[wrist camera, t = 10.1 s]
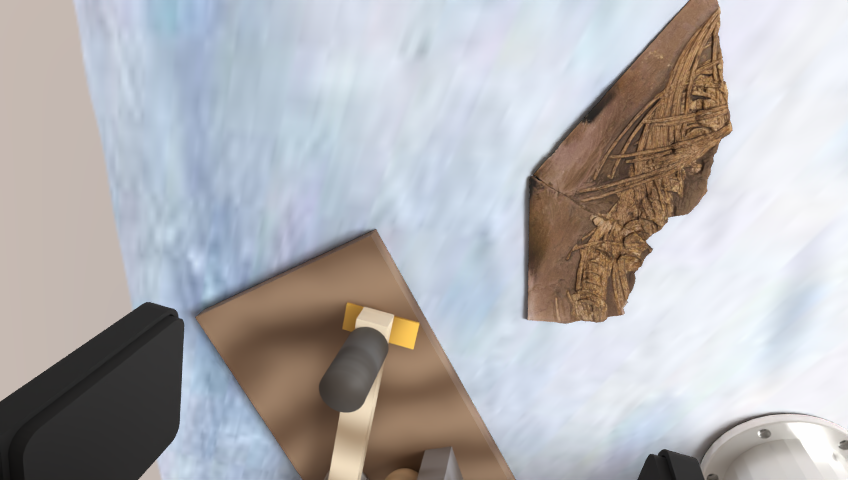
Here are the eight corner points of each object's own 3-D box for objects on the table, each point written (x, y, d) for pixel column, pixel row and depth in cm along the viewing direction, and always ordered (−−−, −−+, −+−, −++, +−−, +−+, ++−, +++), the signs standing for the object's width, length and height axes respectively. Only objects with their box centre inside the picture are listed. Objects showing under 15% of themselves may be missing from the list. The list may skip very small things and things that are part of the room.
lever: (361, 521, 53) (329, 607, 45) (320, 508, 53) (281, 591, 45) (405, 314, 45) (376, 375, 37) (356, 301, 45) (317, 358, 37)
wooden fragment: (595, 351, 45) (597, 358, 44) (470, 289, 46) (468, 294, 45) (808, 32, 36) (815, 32, 35) (646, -43, 36) (649, -45, 35)
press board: (518, 484, 51) (515, 545, 45) (349, 530, 57) (326, 590, 51) (375, 229, 45) (350, 259, 39) (204, 309, 51) (159, 346, 45)
